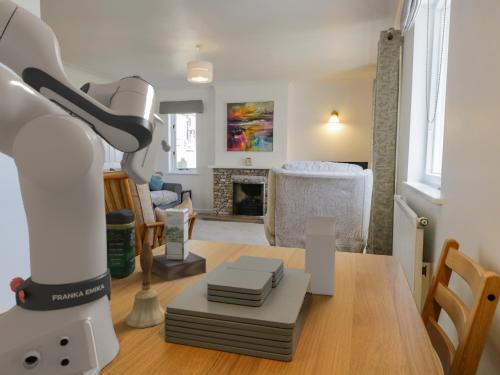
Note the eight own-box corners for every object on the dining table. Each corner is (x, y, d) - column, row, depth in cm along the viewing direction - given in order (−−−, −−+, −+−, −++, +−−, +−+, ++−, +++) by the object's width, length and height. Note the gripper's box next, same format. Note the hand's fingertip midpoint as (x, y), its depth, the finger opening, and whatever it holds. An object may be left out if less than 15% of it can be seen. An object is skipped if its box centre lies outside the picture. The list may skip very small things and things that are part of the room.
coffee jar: (129, 278, 95) (128, 211, 94) (100, 279, 95) (98, 211, 93) (139, 267, 105) (137, 207, 103) (112, 268, 104) (110, 207, 103)
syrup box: (189, 255, 104) (188, 207, 103) (184, 260, 98) (183, 210, 97) (170, 254, 105) (169, 207, 104) (164, 260, 99) (163, 210, 98)
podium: (167, 280, 94) (167, 266, 93) (150, 269, 103) (149, 256, 103) (205, 272, 101) (205, 258, 101) (186, 262, 110) (186, 250, 110)
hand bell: (127, 312, 74) (126, 239, 73) (167, 308, 76) (166, 237, 75) (123, 330, 66) (121, 248, 65) (167, 325, 68) (166, 246, 67)
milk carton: (333, 296, 84) (336, 218, 83) (304, 293, 86) (305, 217, 84) (332, 285, 91) (334, 214, 90) (305, 283, 92) (307, 213, 91)
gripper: (127, 167, 83) (164, 193, 94) (149, 102, 93) (181, 133, 103) (109, 171, 86) (147, 196, 96) (132, 108, 96) (164, 137, 106)
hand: (165, 163), depth 100 cm, fingers open, 8 cm apart
